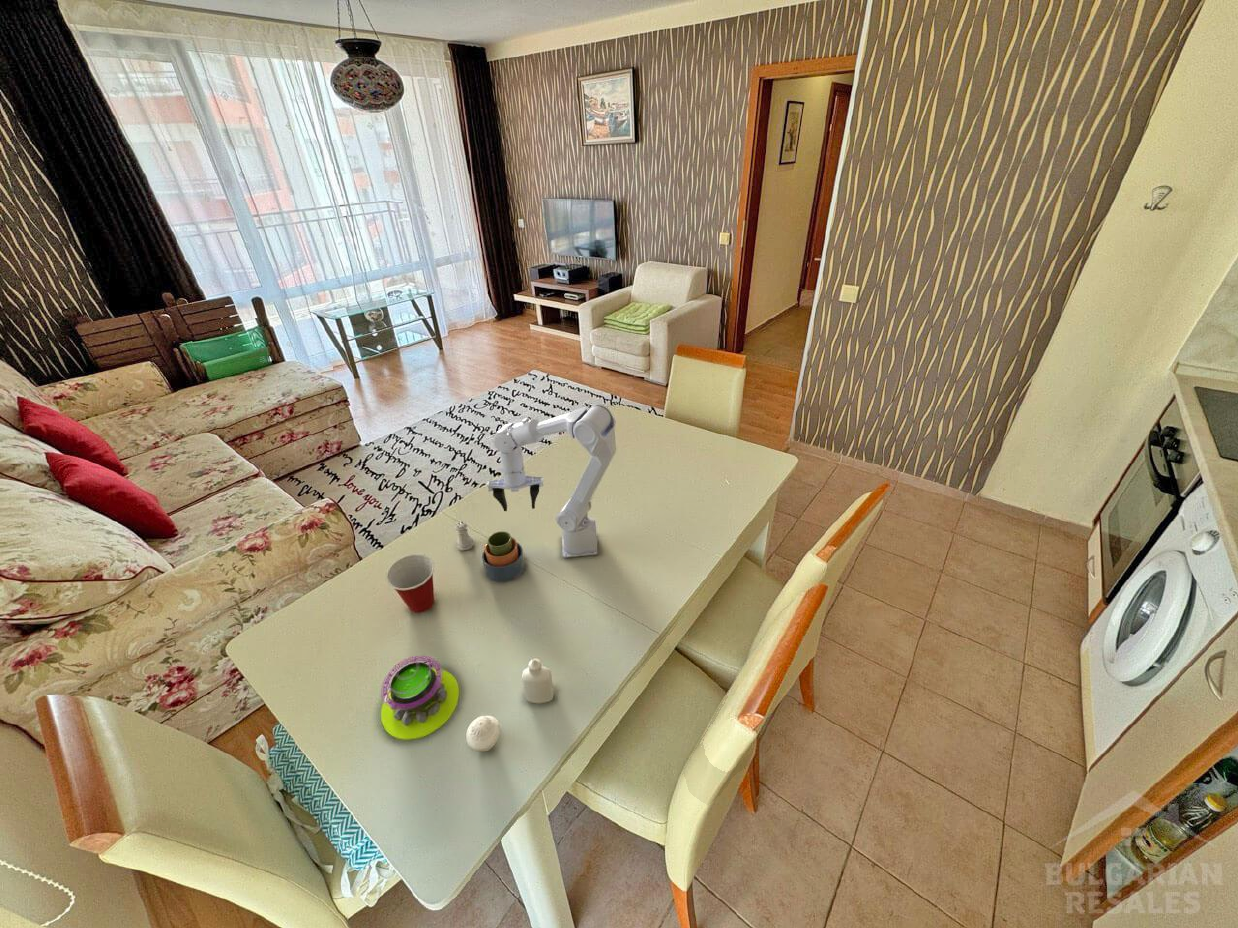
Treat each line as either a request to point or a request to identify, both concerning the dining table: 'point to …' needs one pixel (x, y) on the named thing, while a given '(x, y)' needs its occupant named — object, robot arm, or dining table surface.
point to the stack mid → (504, 559)
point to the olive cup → (500, 544)
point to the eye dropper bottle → (537, 683)
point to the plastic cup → (413, 581)
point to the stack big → (505, 568)
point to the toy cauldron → (418, 699)
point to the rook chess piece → (463, 536)
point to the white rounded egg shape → (483, 733)
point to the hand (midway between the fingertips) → (519, 507)
